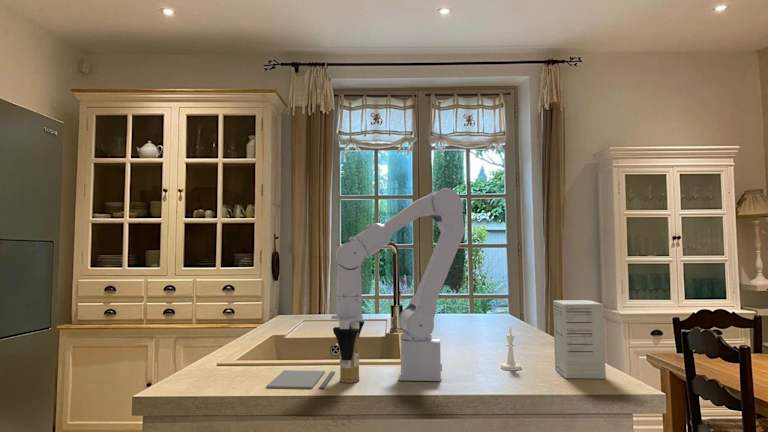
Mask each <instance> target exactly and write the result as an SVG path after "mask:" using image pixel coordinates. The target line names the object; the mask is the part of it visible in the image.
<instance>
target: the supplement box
mask: <svg viewBox="0 0 768 432" xmlns="http://www.w3.org/2000/svg"><path fill="white" fill-rule="evenodd" d="M552 304H553V306H552V309H553V329H554V330H553V331H554V332H553V335H554V338H553V340H554V341H553V343H554V371H557V372H558V373H559V374H560V375H562V377H564V378H565V379H589V380H590V379H591V380H592V379H593V380H594V379H596V380H597V379H601V380H604V379H607V378H606V377H607V376H606V371H607V370H606V347H605V346H606V345H605V342H606V341H605V315H604V314H605V313H604V311H605V310H604V303H600V302H597V301H593V300H590V299H589V300H588V299H583V300H582V299H581V300H580V299H579V300H577V299H575V300H572V299H571V300H570V299H569V300H568V299H567V300H566V299H565V300H562V299H560V300H555V299H554V300H553V301H552Z"/></svg>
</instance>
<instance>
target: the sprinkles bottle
mask: <svg viewBox="0 0 768 432" xmlns="http://www.w3.org/2000/svg"><path fill="white" fill-rule="evenodd" d="M359 321H360V320H358V321H355V322H353V323H350V325H351V327H352V329H359ZM338 327H340V322H339V321H338ZM358 340H360V336H359V337H358V333H357V336H356V339H355V344H354V351H353V357H352V360H342V358H341V354H340V353H339V369H340V371H339V375H340V376H339V381H340V382H342V383H345V384H346V383H347V384H353V382H354V383H357V382H359V381H360V378H361V377H360V344H359V341H358Z"/></svg>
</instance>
